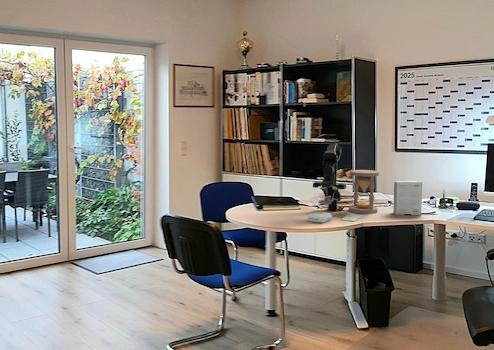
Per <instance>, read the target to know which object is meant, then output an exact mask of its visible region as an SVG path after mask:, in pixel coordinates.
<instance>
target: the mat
mask: <svg viewBox="0 0 494 350" xmlns="http://www.w3.org/2000/svg"><path fill="white" fill-rule="evenodd" d="M362 217H363V215H361V214H352V213H349V214H347V215H345V216H344V217H342V218H341V219H340V221H346V222H356V221H358V220H359V219H360V218H362Z"/></svg>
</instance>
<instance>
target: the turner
mask: <svg viewBox="0 0 494 350" xmlns="http://www.w3.org/2000/svg"><path fill="white" fill-rule="evenodd" d="M331 202H333V199H332V200H331V196H328V197H325V196H324V199H321V200H318V205H328V204H331Z"/></svg>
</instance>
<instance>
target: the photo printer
mask: <svg viewBox="0 0 494 350" xmlns="http://www.w3.org/2000/svg"><path fill="white" fill-rule="evenodd" d="M332 218H333V216H332V213H330V212H321V211H314V212H312V213H309V214H308V216H307V221H308V222H311V223H319V224H321V223H322V224H323V223H326V222H328V221H331V220H332Z"/></svg>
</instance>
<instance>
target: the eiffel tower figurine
mask: <svg viewBox="0 0 494 350" xmlns="http://www.w3.org/2000/svg"><path fill="white" fill-rule="evenodd" d="M445 190H446V189H443V193H442V195H443V196H442V199H441V202H440V205H438V209H442V210H456V208H455V207H449V206H448V205H447V203H446V200H445V199H446V198H445ZM443 207H445V208H443ZM446 207H448V208H446Z"/></svg>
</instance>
